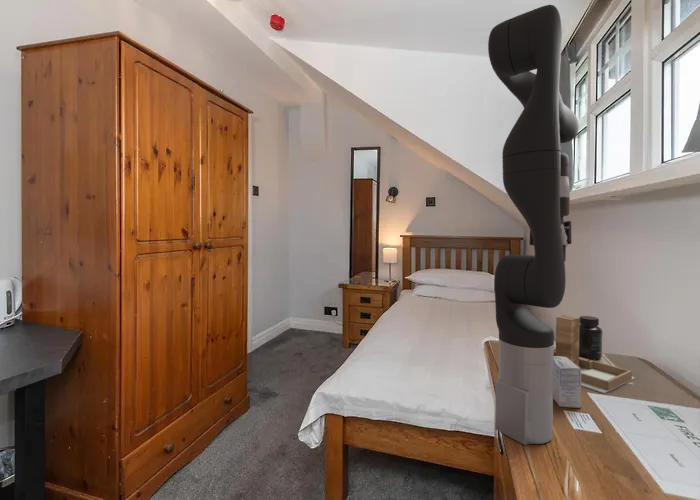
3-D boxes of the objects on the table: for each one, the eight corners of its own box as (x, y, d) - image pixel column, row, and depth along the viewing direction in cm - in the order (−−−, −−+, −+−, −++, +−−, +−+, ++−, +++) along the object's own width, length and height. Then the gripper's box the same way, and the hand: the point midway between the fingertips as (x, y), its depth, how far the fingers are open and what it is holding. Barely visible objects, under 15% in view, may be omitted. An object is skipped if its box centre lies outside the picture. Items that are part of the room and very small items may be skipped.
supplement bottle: (569, 354, 108) (569, 315, 108) (585, 351, 110) (586, 314, 110) (590, 361, 101) (591, 320, 101) (607, 359, 103) (608, 319, 103)
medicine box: (581, 409, 74) (582, 368, 74) (558, 407, 75) (559, 367, 75) (566, 392, 82) (567, 356, 81) (545, 391, 83) (546, 355, 82)
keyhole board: (604, 393, 81) (604, 379, 81) (526, 367, 97) (526, 355, 97) (634, 378, 89) (635, 365, 89) (558, 357, 105) (558, 345, 105)
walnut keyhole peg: (572, 373, 92) (573, 321, 91) (549, 366, 97) (550, 316, 96) (584, 369, 95) (585, 318, 94) (561, 362, 100) (562, 314, 99)
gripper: (552, 200, 93) (551, 260, 94) (520, 197, 86) (519, 263, 86) (583, 197, 87) (581, 262, 87) (550, 193, 79) (549, 265, 80)
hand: (550, 262), depth 87 cm, fingers open, 8 cm apart
